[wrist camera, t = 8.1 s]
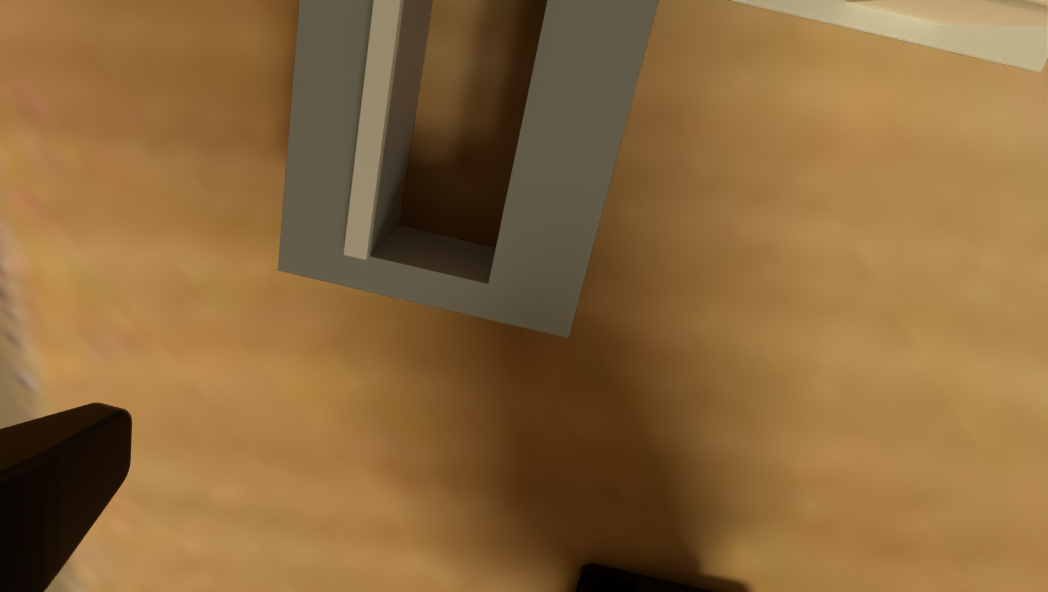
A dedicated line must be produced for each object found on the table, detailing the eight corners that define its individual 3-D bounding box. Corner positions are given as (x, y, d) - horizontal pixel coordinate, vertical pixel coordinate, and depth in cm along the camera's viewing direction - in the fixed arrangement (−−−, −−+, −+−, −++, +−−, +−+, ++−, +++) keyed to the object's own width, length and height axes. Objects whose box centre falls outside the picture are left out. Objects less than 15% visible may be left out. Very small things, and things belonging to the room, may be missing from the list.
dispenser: (571, 296, 21) (568, 343, 18) (318, 237, 21) (273, 274, 18) (664, -60, 17) (680, -77, 14) (356, -131, 17) (306, -164, 14)
